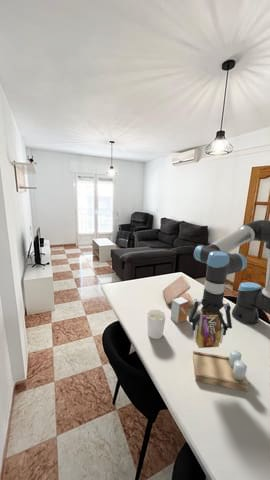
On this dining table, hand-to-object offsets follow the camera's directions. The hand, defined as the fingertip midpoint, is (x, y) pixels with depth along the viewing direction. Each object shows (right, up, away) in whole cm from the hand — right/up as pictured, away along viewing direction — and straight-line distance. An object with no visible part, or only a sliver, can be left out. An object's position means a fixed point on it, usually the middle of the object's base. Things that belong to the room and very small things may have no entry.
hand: (207, 338), depth 83 cm
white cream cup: (-20, -10, +25) cm, 33 cm away
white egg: (+13, -13, +3) cm, 19 cm away
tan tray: (+5, -16, +2) cm, 17 cm away
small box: (-3, -8, +39) cm, 40 cm away
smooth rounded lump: (+12, -14, -2) cm, 19 cm away
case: (+1, -3, +62) cm, 62 cm away
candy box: (0, -3, +1) cm, 3 cm away
